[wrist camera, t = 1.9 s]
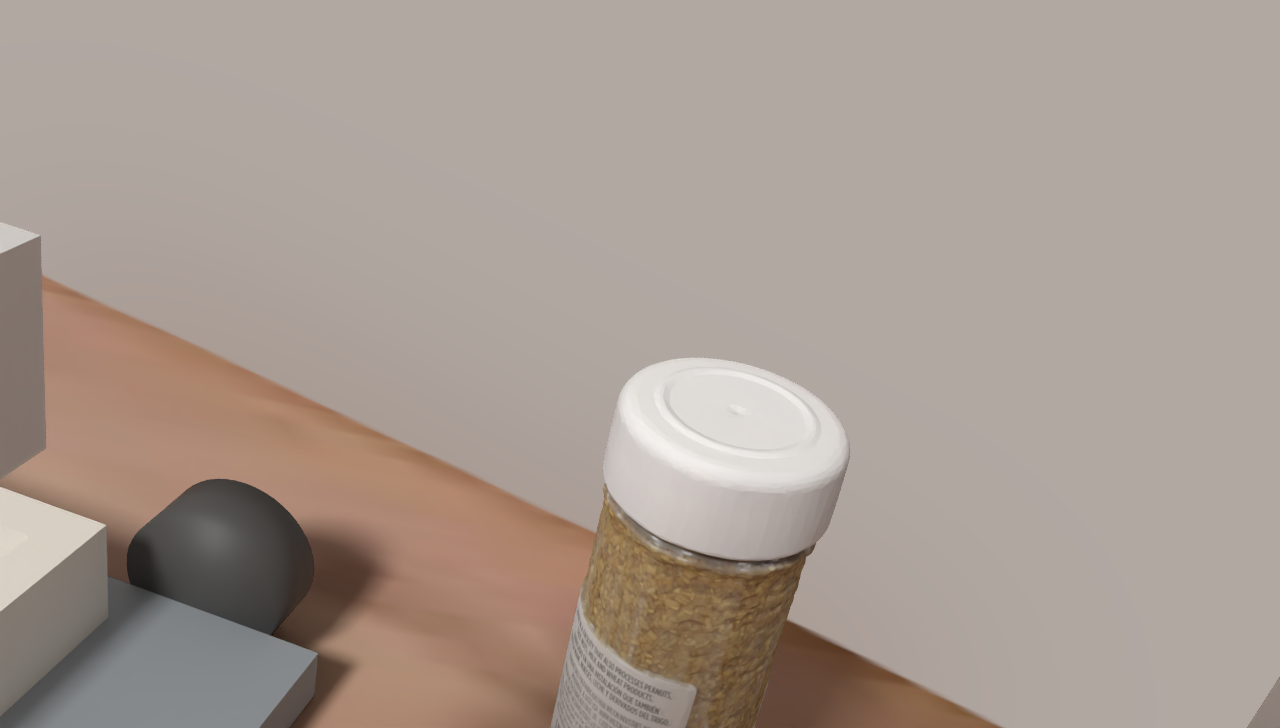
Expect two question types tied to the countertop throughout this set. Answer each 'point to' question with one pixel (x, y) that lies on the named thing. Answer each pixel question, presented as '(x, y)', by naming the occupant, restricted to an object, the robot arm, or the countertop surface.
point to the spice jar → (698, 545)
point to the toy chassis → (154, 616)
